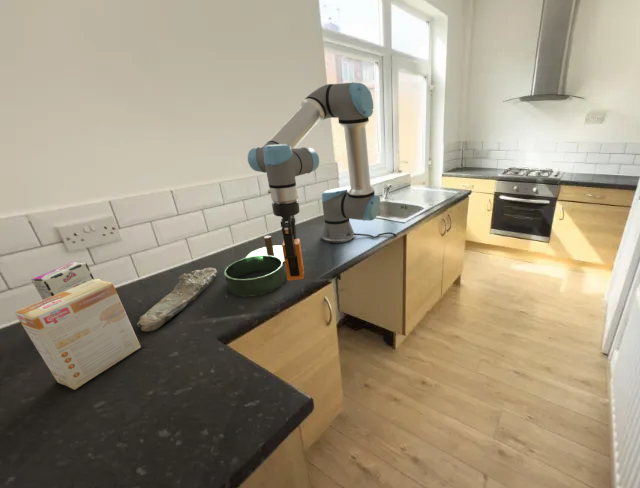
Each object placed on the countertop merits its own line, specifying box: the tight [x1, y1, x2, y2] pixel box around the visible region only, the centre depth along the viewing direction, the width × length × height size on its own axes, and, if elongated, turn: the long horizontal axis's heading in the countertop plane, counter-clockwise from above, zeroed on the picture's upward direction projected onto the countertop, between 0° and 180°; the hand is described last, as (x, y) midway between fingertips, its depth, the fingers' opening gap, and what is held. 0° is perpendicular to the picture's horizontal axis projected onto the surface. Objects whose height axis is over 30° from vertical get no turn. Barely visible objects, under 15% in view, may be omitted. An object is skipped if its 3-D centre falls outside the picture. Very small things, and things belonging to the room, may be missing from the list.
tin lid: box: [245, 235, 285, 264], centre depth 131 cm, size 20×20×9 cm
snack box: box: [281, 238, 305, 281], centre depth 100 cm, size 5×5×12 cm
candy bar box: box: [30, 261, 95, 300], centre depth 92 cm, size 11×5×16 cm, turn 170°
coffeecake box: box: [14, 278, 142, 391], centre depth 73 cm, size 15×7×20 cm, turn 159°
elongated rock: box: [136, 267, 218, 332], centre depth 103 cm, size 35×5×10 cm
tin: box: [223, 255, 286, 297], centre depth 112 cm, size 19×19×6 cm
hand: (295, 271), depth 102 cm, fingers closed on snack box, 5 cm apart
